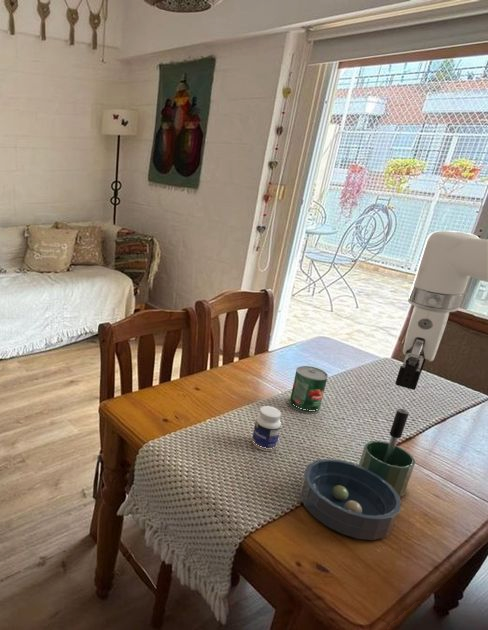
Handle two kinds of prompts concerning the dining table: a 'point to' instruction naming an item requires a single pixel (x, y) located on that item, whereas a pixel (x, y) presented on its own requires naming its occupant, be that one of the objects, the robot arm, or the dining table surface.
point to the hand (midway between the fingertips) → (408, 377)
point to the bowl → (362, 488)
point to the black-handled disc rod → (396, 432)
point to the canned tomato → (308, 389)
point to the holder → (393, 472)
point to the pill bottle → (267, 428)
